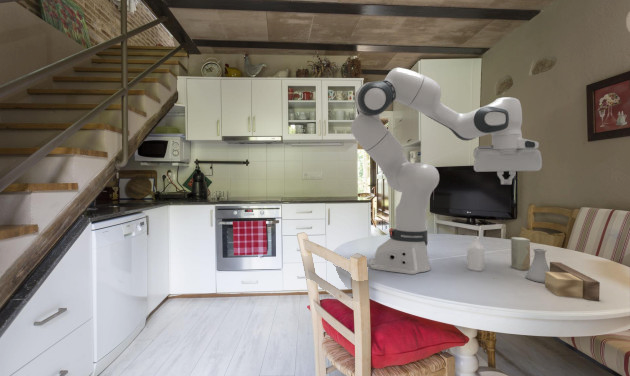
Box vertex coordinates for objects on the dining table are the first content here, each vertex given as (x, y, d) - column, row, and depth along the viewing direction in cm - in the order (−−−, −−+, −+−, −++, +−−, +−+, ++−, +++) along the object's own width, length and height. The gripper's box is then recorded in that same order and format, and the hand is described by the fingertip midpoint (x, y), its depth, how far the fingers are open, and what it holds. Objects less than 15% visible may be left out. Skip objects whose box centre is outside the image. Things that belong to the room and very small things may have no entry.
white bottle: (464, 234, 112) (480, 235, 111) (464, 266, 112) (480, 266, 111) (471, 237, 106) (487, 238, 105) (470, 270, 106) (487, 271, 105)
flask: (559, 282, 94) (559, 251, 94) (542, 284, 92) (543, 252, 91) (536, 275, 101) (536, 246, 100) (520, 277, 99) (520, 247, 98)
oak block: (556, 296, 83) (557, 278, 83) (545, 287, 89) (545, 271, 89) (582, 298, 81) (583, 280, 81) (568, 289, 88) (569, 273, 88)
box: (530, 270, 106) (530, 240, 106) (517, 269, 107) (517, 239, 107) (523, 266, 111) (523, 237, 111) (510, 265, 112) (510, 236, 112)
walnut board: (585, 299, 80) (586, 281, 80) (549, 276, 99) (549, 261, 99) (599, 300, 79) (599, 282, 79) (560, 277, 98) (560, 262, 98)
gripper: (475, 145, 103) (475, 184, 103) (544, 142, 97) (544, 184, 98) (471, 147, 109) (471, 184, 109) (535, 144, 103) (535, 184, 104)
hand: (506, 184), depth 103 cm, fingers closed
